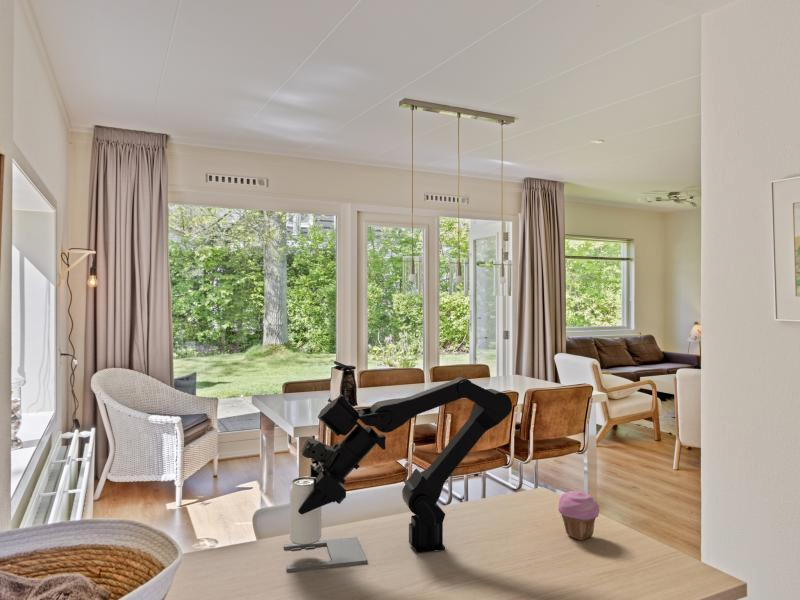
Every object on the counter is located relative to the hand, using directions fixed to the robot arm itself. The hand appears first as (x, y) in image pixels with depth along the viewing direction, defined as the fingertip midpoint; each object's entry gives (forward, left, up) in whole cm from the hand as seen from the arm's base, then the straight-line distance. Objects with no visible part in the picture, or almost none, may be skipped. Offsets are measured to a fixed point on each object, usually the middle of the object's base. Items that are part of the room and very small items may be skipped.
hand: (298, 507), depth 116 cm
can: (-1, 0, -7) cm, 7 cm away
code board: (-5, 0, -10) cm, 12 cm away
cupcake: (-62, +4, -10) cm, 63 cm away
